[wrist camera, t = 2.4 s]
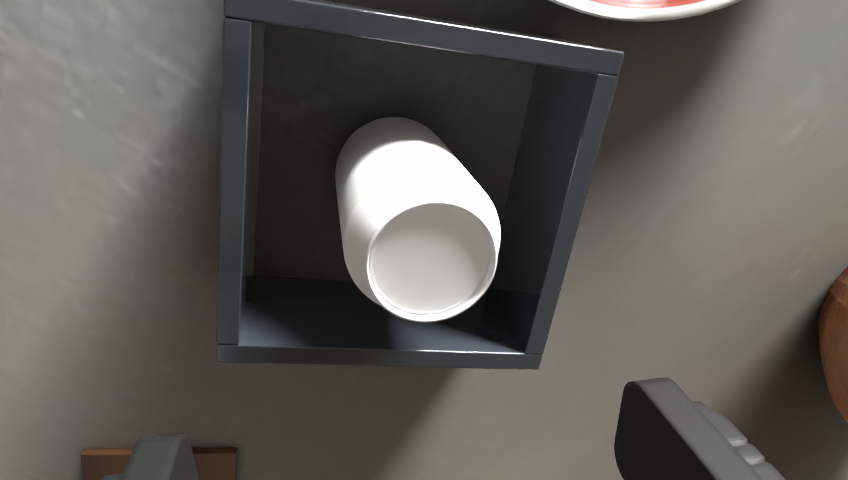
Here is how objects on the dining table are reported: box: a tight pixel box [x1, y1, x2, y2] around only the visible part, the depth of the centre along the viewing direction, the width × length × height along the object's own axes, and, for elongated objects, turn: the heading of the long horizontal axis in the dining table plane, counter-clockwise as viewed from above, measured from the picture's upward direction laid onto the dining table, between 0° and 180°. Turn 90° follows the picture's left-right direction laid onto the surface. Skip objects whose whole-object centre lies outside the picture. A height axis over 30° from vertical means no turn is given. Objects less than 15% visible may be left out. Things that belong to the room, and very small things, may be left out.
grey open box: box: [216, 0, 624, 370], centre depth 28 cm, size 16×16×7 cm
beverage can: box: [335, 117, 501, 322], centre depth 26 cm, size 6×6×12 cm
